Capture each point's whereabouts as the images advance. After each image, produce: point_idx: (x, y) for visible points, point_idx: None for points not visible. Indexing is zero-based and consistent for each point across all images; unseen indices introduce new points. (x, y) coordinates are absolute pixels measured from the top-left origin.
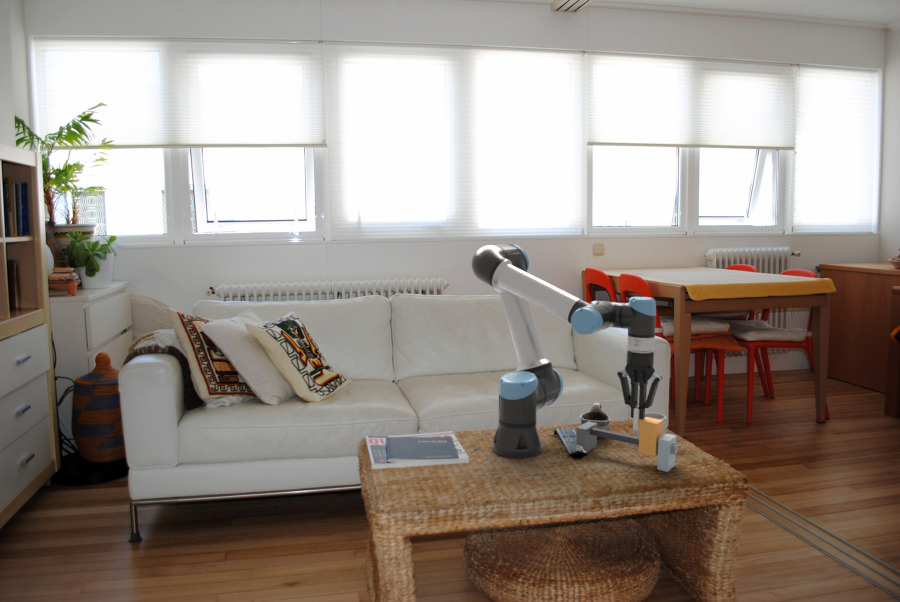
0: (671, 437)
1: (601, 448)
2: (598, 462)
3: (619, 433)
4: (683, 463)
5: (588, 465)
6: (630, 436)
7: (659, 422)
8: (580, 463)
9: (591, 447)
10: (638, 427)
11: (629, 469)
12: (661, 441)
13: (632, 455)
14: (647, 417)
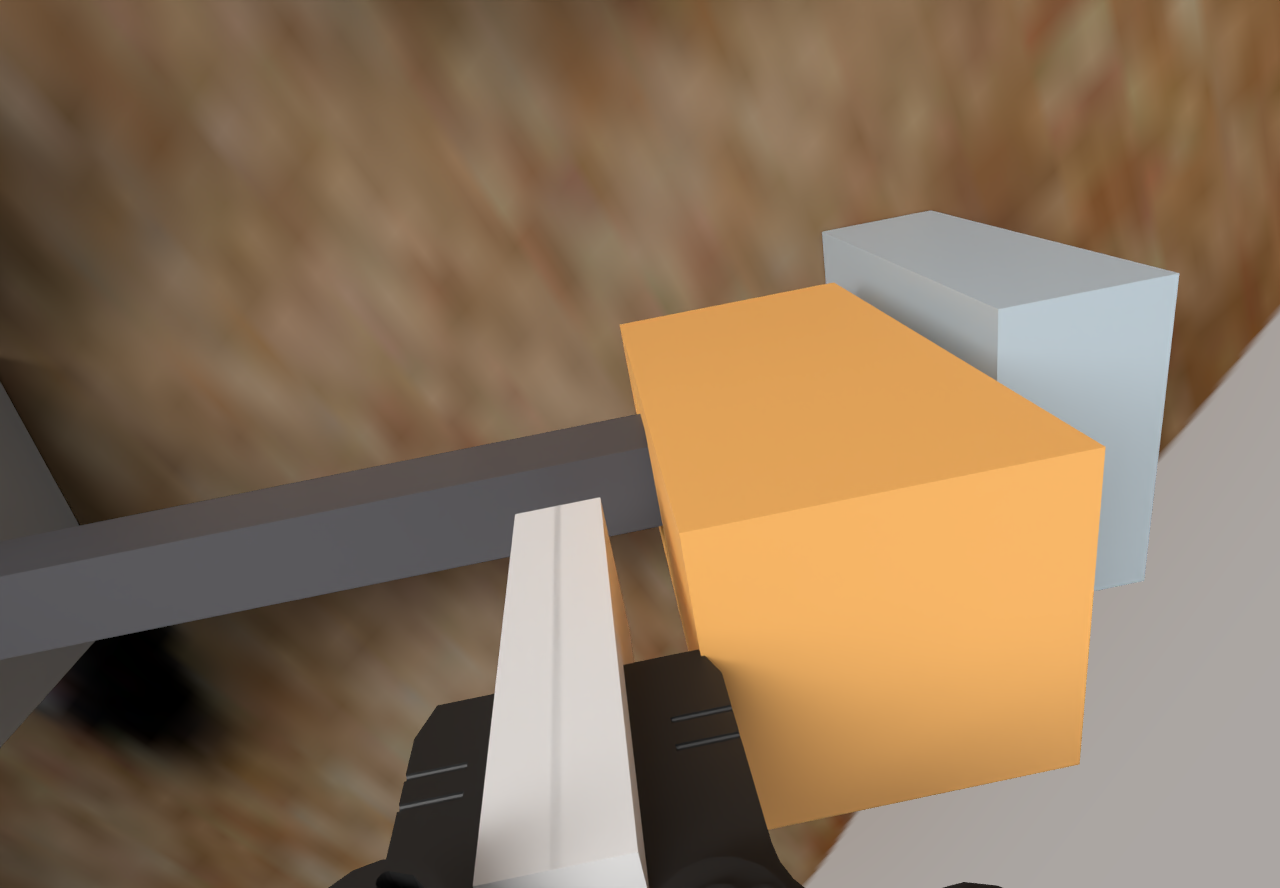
0: (1130, 417)
1: (79, 365)
2: (379, 673)
3: (282, 532)
4: (980, 61)
5: (379, 771)
6: (476, 522)
7: (1088, 648)
8: (306, 786)
9: (38, 485)
10: (629, 639)
11: (658, 605)
12: None
13: (452, 286)
14: (726, 553)
